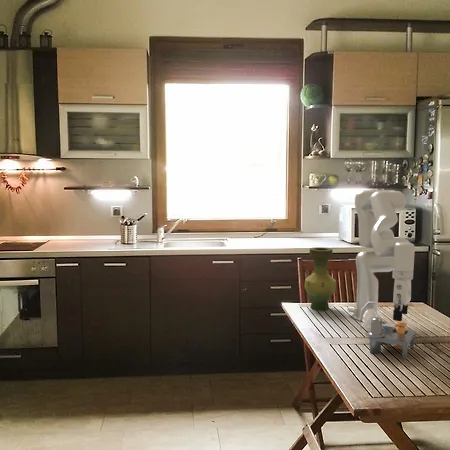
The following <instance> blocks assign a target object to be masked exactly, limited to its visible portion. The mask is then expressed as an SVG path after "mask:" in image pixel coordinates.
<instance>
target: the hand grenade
mask: <svg viewBox="0 0 450 450" xmlns="http://www.w3.org/2000/svg"><path fill="white" fill-rule="evenodd" d="M373 303H374V304H375V302H367V303H366V304H365V305H364V307H363V308H362V309H361V313H360V318H359V320H358V321H359V325H360V329H361V330H362V328H364V329H365V330H366V331H367V332H368V331H371V326H366V323H367V322H371V318H372V317H378V316H377V314H378V313H377V314H376V312H375V311H374V309H373ZM367 305H368V306H367ZM366 306H367V308H368V309H367V311H366V312H365V313H364V315H363V321H360V319H361V314H362V310H363V309H364V308H365V307H366ZM361 322H362V323H361ZM362 324H363V327H362Z"/></svg>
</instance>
